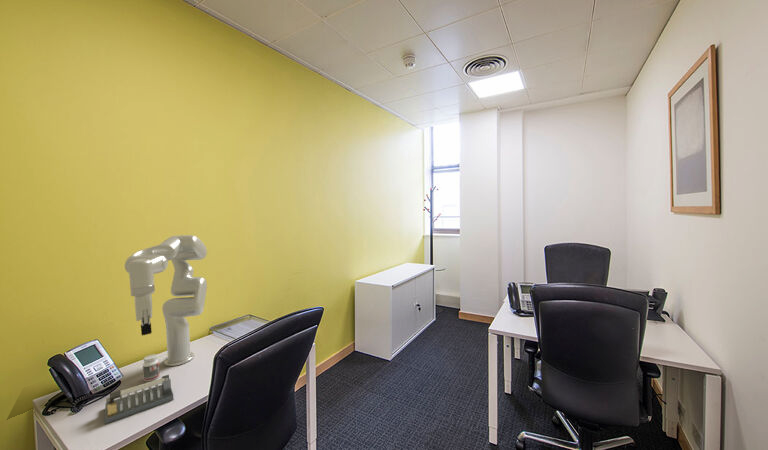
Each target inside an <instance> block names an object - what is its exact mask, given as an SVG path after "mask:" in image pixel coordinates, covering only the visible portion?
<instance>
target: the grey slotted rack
mask: <svg viewBox="0 0 768 450" xmlns="http://www.w3.org/2000/svg"><path fill="white" fill-rule="evenodd" d="M165 377H167V378H168V380H165V381H163V383H162V384H159V385H155V386H152V387H149V388H146V389H143V390H140V391H136V392H133V393H130V394H127V395H125V396H121V397H119V398H116V399H113V400H110V396H109V397H106V401H105V408H104V425H108V424H110V423H113V422H116V421H119V420H121V419H125V418H127V417H129V416H132V415H135V414H138V413H141V412H144V411H147V410H149V409H152V408H155V407H157V406H161V405H163V404H166V403H168V402H171V401H174V393H173V390H172V382H171V381H172V380H171V378H170V374H166V375H162V376H161V378H165Z"/></svg>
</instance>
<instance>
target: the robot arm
mask: <svg viewBox="0 0 768 450" xmlns="http://www.w3.org/2000/svg"><path fill="white" fill-rule="evenodd" d="M207 252H208V249H207V247H206V245H205V244H204V242H203V241H202V240H201V239H200V238H199V237H197V236H196V235H193V234H189V235H187V234H186V235H183V234H181V235H172V236H169V237H168V238H167V239H165V240H164V241H162V242H161V243H159V244H156V245H154V246H150V247H147V248H144V249H141V250H137V251H136V252H133V254H131V255H130V256H129V257H128V258H127V259H126V260H125V262H124V269H125V272H126V273H128V277H129V286H130V287H129V288H130V289H129V290H130V296H131V297H134V308H135V320H136V322H139V321H140V322H141V323H140V330H141V332H140V333H141V336H146V335H151V334H152V332H153V331H152V323H151V320H150V319H152V318H153V299H152V294H154V293H155V292H156V288H155V279H154V278H155V276H154V275H155V274H160V273H163V272H164V271H165V270H166V269H167V268H168V265H169V261H171V263H172V265H173V269H174V272H173V277H172V282H171V286H170V294H171V296H174V297H175V298H169V299H168V300H165V302H164V303H163V305H162V314H163V318H164V322H165V331H166V332H165V334H166V335H165V336H166V351H167V354H166V355H167V358H165V360H164V361H163V364H164V366H166V367H174V366H175V367H177V366H181V365H183V364H186V363H189V362H190V361H192V360H193V359H194V357H195V353H194V352H191V342H190V341H191V340H190V338H191V337H190V324H189V321H188V319H187V318H186V317H197V316H199V315H201V314H202V313H203V311H204V308H205V303H206V302H205V301H206V297H207V288H208V285H207V280H206V278H204V277H202V276H194V273H195V272H194V268H193V267H192V265H191V264H190V263H188V261H199V260H204V259H206V257H207V254H208V253H207ZM193 276H194V277H193Z"/></svg>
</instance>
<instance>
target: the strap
mask: <svg viewBox="0 0 768 450" xmlns="http://www.w3.org/2000/svg"><path fill="white" fill-rule="evenodd" d="M165 380H168V378H167V377H165V378H162V377H161V378H157V379H155V380H152V381H147V382H145V383H142V384H139V385H135V386H131V387H128V388H125V389H122V390H121V389H120V390H116V391H113V392H110V393H109V397H110V400H113V399H114V400H117V399H120V397H121V396H122V397H125V396H127V394H130V395H131V394H134V392H136V391H137V392H141V391H142V390H143V389H144V390H147V389H148V388H149V387H151V388H153V387H155V385H158V386H160V385H162V383H163V381H165Z"/></svg>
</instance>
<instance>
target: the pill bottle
mask: <svg viewBox="0 0 768 450" xmlns="http://www.w3.org/2000/svg"><path fill="white" fill-rule="evenodd" d="M157 358H158V355H157V354H156V353H154V354H153V353H152V354H149V355H146V356H144V357H143V363H142V374H143V375H142V376H143V381H144V382H151V381H154V380H157V379H159V377H160V364H159V362H160V361H159V359H157Z"/></svg>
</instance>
